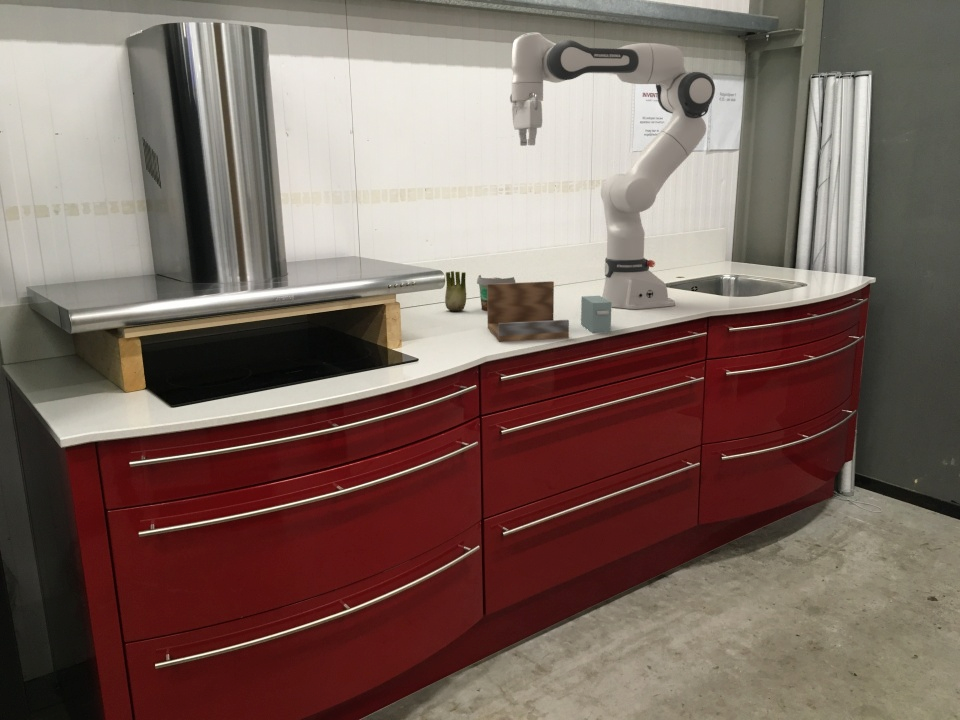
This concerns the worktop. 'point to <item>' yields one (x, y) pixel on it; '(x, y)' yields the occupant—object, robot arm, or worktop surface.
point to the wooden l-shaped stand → (523, 312)
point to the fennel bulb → (455, 291)
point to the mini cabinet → (596, 314)
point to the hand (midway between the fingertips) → (527, 145)
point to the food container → (483, 287)
